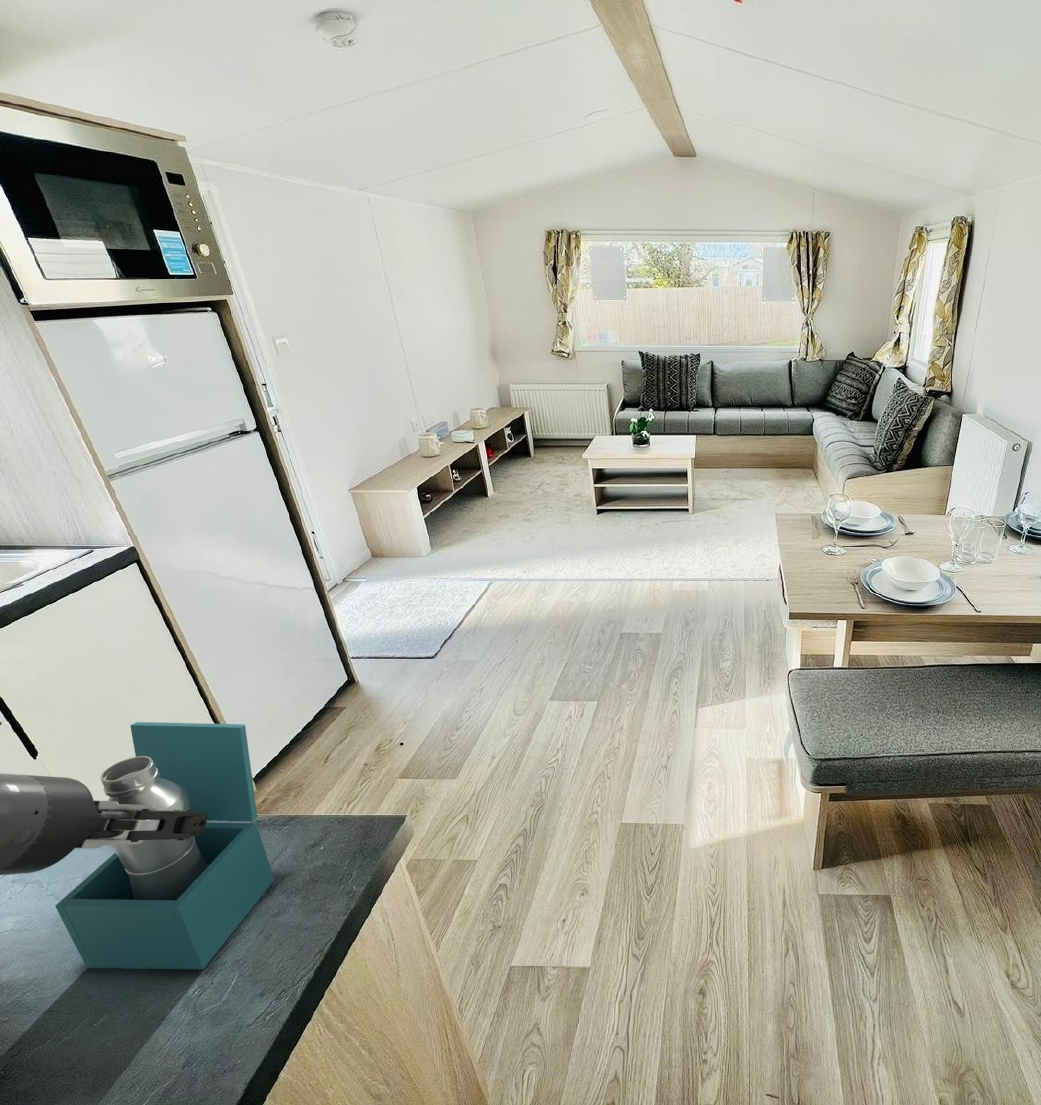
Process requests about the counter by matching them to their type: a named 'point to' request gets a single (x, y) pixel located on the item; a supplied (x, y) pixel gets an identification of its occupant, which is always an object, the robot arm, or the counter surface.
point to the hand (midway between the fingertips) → (160, 823)
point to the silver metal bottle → (153, 862)
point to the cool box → (169, 906)
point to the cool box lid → (202, 765)
